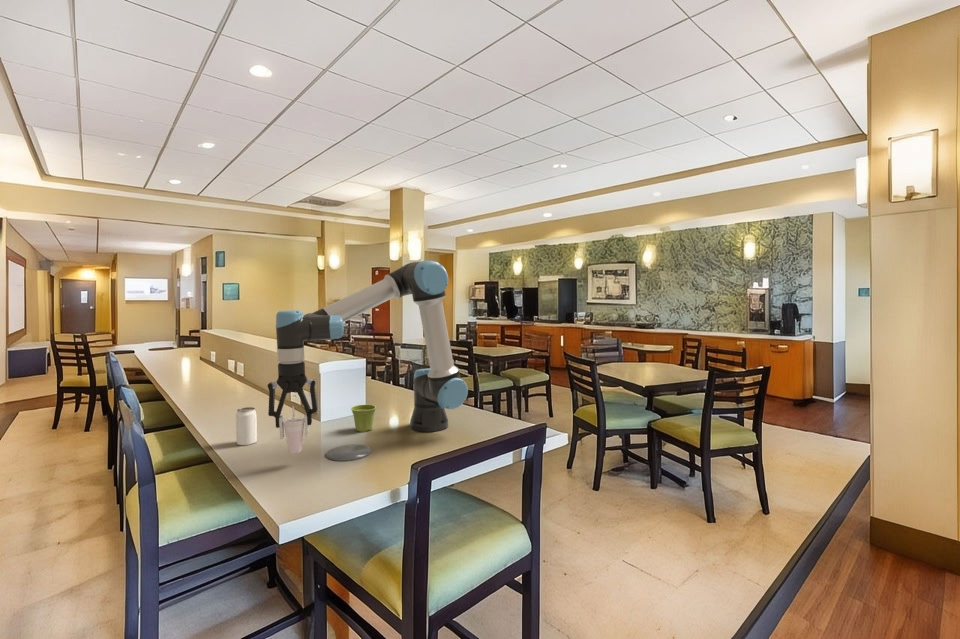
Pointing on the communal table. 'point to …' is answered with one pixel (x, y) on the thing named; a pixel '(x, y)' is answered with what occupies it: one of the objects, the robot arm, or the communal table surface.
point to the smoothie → (294, 432)
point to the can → (246, 426)
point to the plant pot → (363, 417)
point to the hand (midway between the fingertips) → (294, 436)
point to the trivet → (348, 452)
